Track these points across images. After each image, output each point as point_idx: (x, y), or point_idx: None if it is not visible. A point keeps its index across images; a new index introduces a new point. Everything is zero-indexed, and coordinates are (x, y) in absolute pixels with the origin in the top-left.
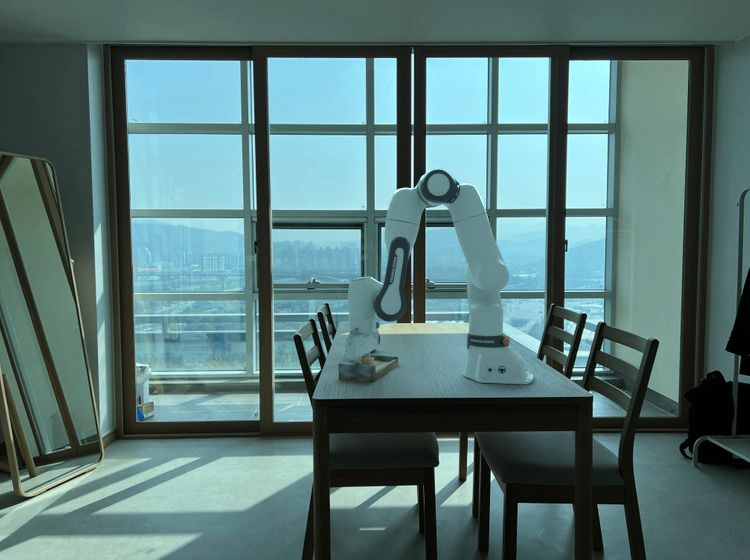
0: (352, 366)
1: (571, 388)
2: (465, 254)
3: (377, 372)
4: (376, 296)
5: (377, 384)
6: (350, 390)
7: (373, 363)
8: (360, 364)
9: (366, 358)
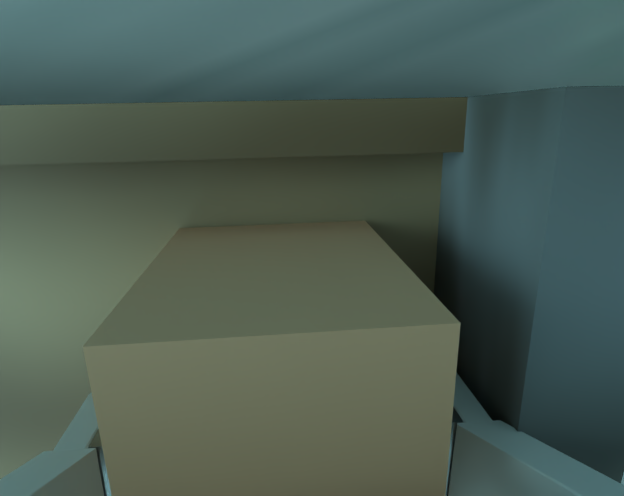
0: None
1: None
2: None
3: (369, 99)
4: None
5: (598, 3)
6: None
7: (191, 277)
8: (565, 413)
9: (353, 458)
